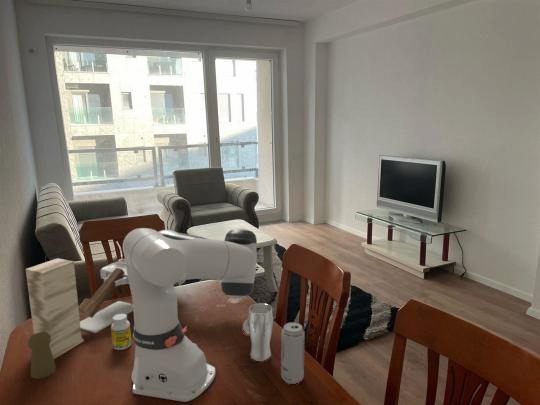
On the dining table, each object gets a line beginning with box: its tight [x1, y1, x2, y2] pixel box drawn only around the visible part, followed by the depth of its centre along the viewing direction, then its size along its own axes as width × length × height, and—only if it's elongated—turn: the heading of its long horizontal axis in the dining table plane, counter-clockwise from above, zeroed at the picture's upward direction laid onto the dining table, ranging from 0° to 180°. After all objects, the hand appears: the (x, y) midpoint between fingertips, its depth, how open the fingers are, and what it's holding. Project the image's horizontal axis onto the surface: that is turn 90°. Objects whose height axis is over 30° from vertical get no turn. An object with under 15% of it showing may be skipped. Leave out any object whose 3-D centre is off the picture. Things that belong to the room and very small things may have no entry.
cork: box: [27, 332, 57, 380], centre depth 104 cm, size 6×6×11 cm
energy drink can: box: [280, 321, 306, 385], centre depth 101 cm, size 6×6×15 cm
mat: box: [80, 300, 134, 334], centre depth 135 cm, size 10×20×1 cm, turn 157°
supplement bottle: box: [110, 314, 132, 351], centre depth 116 cm, size 5×5×10 cm
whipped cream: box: [242, 318, 250, 334], centre depth 125 cm, size 8×7×5 cm
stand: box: [25, 257, 84, 360], centre depth 114 cm, size 9×10×26 cm
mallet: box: [78, 268, 124, 318], centre depth 131 cm, size 4×18×4 cm, turn 156°
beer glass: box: [247, 302, 274, 362], centre depth 111 cm, size 7×7×15 cm
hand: (109, 282), depth 133 cm, fingers closed on mallet, 3 cm apart
